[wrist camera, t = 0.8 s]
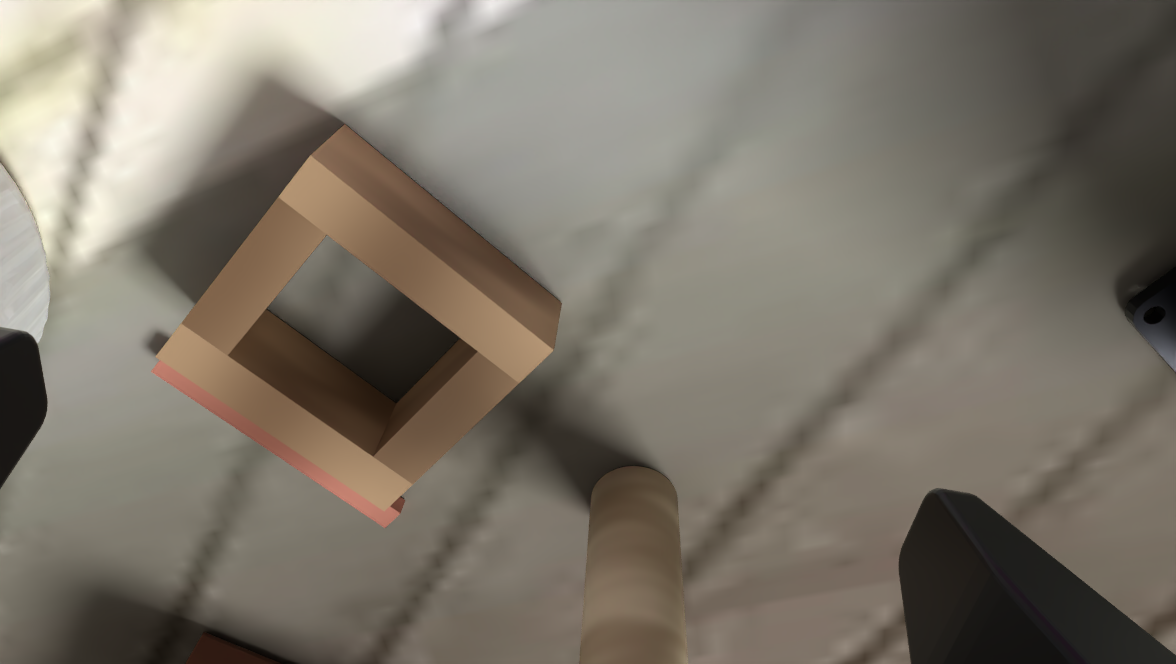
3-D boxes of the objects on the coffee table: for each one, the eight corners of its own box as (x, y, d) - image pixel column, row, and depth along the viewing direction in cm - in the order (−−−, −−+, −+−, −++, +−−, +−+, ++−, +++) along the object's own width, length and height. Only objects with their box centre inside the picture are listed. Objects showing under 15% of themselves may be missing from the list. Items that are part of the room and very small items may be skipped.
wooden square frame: (589, 326, 23) (585, 374, 21) (389, 514, 27) (367, 573, 24) (344, 124, 21) (310, 154, 19) (161, 360, 24) (114, 410, 22)
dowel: (697, 500, 26) (735, 911, 16) (635, 547, 27) (635, 962, 17) (633, 450, 25) (630, 848, 15) (571, 500, 26) (531, 906, 16)
